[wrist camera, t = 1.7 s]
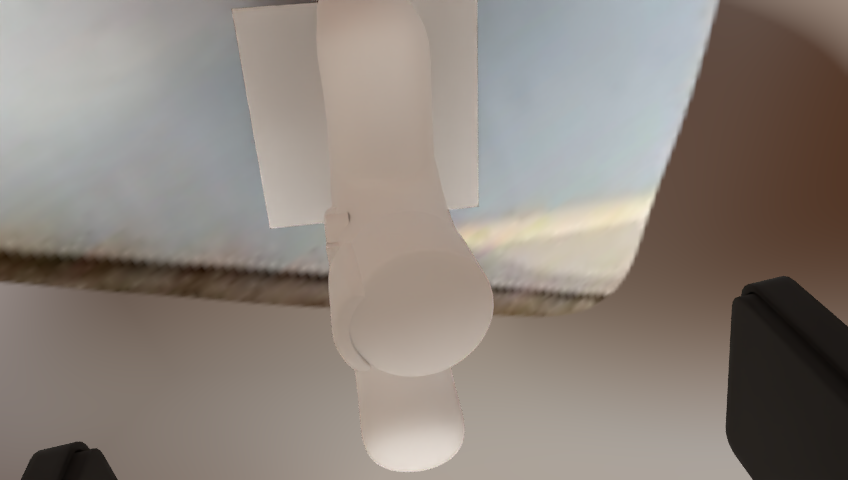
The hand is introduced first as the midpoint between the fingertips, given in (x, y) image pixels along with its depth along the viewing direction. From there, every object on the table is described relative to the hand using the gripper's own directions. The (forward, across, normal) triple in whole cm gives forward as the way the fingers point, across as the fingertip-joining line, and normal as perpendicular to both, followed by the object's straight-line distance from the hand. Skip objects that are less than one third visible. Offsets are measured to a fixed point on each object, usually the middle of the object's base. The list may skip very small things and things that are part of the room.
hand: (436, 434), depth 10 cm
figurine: (+18, 0, 0) cm, 18 cm away
